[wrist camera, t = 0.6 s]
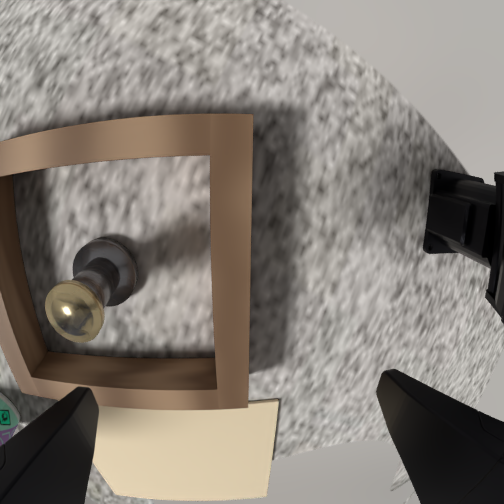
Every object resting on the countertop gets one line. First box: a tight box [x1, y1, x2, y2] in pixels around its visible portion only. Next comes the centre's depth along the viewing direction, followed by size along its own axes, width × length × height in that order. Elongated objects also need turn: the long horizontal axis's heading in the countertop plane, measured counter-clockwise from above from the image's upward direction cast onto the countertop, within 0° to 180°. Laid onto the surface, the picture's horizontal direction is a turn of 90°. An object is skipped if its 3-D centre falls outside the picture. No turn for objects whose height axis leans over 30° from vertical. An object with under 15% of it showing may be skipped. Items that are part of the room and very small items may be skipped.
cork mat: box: [58, 399, 279, 501], centre depth 25 cm, size 20×20×1 cm
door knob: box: [45, 238, 138, 343], centre depth 15 cm, size 4×4×6 cm
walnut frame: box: [0, 114, 253, 410], centre depth 16 cm, size 18×18×4 cm
